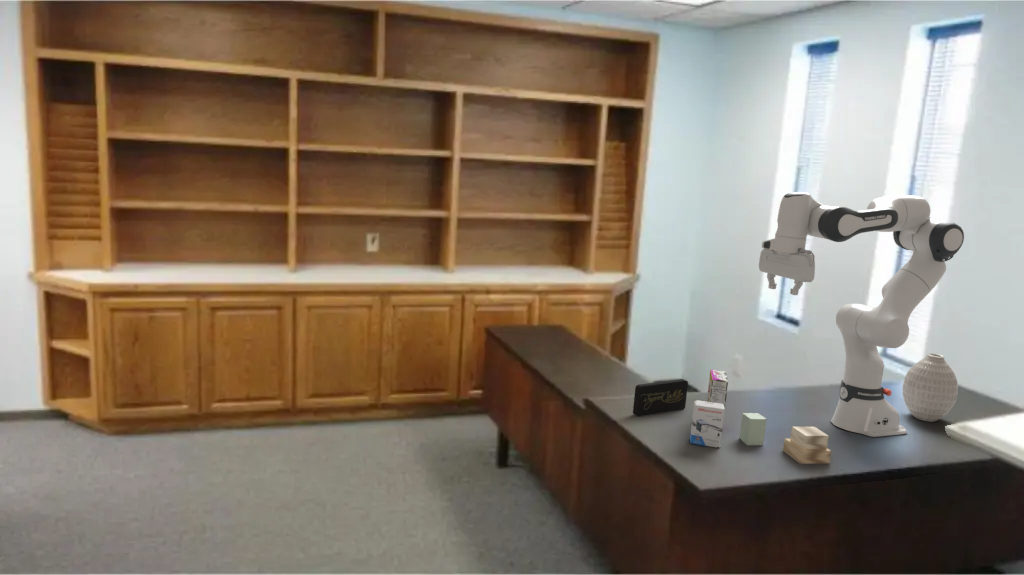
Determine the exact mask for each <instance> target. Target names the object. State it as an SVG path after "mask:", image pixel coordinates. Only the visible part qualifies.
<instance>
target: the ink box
mask: <svg viewBox="0 0 1024 575" xmlns="http://www.w3.org/2000/svg"><path fill="white" fill-rule="evenodd" d="M692 410H693V411H692V417H691V420H692V421H691V426H690V433H689V443H690V444H692V445H699V446H705V447H713V448H717V447H719V448H721V445H722V444H721V443H722V437H723V430H724V420H725V412H726V405H725V406H724V405H723V404H720V403H713V402H707V400H705V401H704V400H699V399H698V400H694V402H693V409H692ZM719 448H718V449H719Z"/></svg>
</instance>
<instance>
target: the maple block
mask: <svg viewBox="0 0 1024 575" xmlns="http://www.w3.org/2000/svg"><path fill="white" fill-rule="evenodd" d="M789 439H790V440H791V441H793V442H794V443H795V444H797V445H798V446H800V447H801V448H802V449H827V448H828V443H829V435H828V434H827V433H825V432H824V431H822V430H820V429H819V428H817V427H816V426H792V427H791V432H790V438H789Z"/></svg>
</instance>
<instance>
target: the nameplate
mask: <svg viewBox="0 0 1024 575" xmlns="http://www.w3.org/2000/svg"><path fill="white" fill-rule="evenodd" d="M688 386H689V381H688V380H687V379H683V378H679V379H672V380H664V381H656V382H649V383H640V384H636V385H635V387H634V395H633V397H634V400H633V406H632V408H633V410H632V414H633V415H634V416H635V417H646V416H650V415H651V414H652V415H656V414H657V413H658V414H662V413H669V412H676V411H681V410H685V408H686V404H687V396H688V395H687V394H688V388H689V387H688ZM658 414H657V415H658Z"/></svg>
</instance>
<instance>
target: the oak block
mask: <svg viewBox="0 0 1024 575" xmlns="http://www.w3.org/2000/svg"><path fill="white" fill-rule="evenodd" d="M782 451H783V452H785V453H786V454H787V456H789V457H791V458H792V459H793V460H794V461H796V462H798V463H799V464H830V462H831V456H832V450H831V449H829V448H828V447H827V449H802V448H801V447H800V446H798V445H797V444H795V443H794V442H793V441H791V440H790V438H784V441H783V448H782Z"/></svg>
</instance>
